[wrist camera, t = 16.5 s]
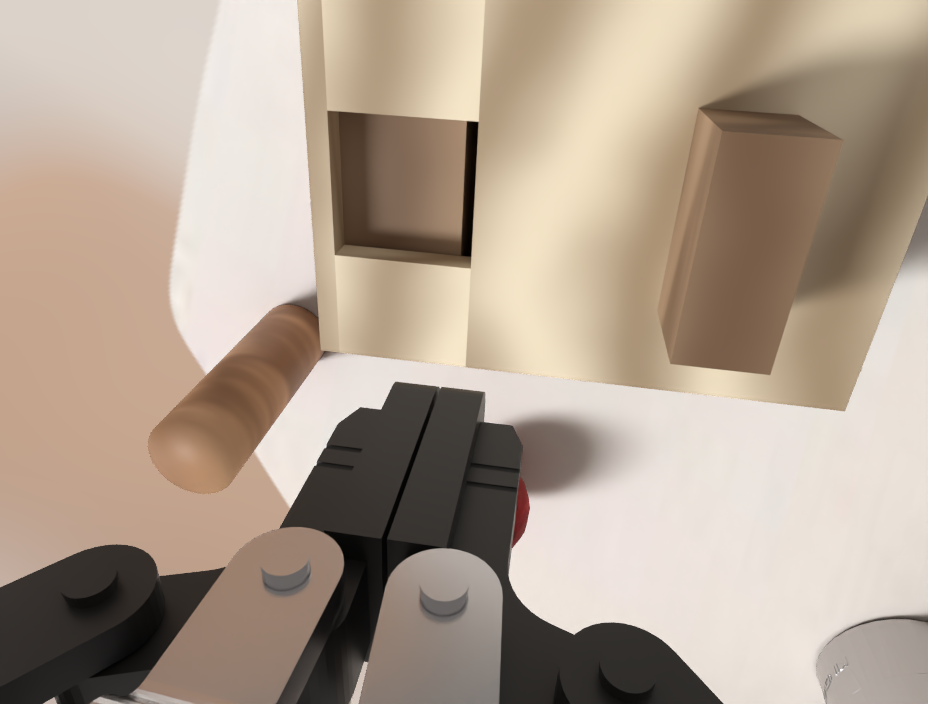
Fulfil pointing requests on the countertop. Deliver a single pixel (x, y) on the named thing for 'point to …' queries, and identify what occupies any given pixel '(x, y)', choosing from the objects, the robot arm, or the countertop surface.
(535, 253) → the lid
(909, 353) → the countertop surface
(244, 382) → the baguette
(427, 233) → the wooden box
